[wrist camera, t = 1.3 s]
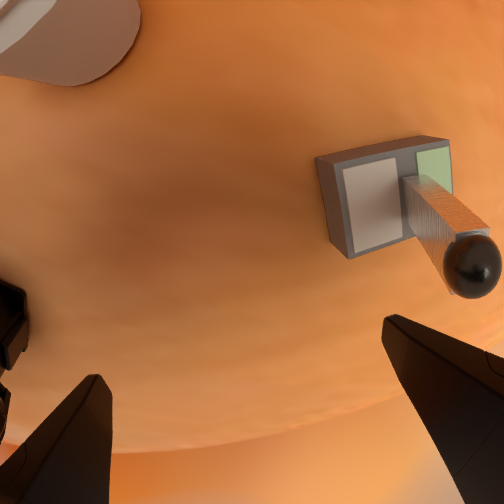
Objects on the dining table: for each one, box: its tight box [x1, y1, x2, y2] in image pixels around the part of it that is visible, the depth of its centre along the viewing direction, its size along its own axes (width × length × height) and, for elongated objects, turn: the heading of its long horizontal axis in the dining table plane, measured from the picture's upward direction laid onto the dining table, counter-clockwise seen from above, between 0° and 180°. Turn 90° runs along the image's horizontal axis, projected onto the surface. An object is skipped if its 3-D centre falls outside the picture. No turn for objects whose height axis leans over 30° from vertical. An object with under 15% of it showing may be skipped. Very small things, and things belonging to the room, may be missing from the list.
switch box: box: [315, 135, 453, 260], centre depth 19 cm, size 9×6×3 cm, turn 105°
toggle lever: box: [402, 174, 502, 299], centre depth 13 cm, size 3×3×10 cm
